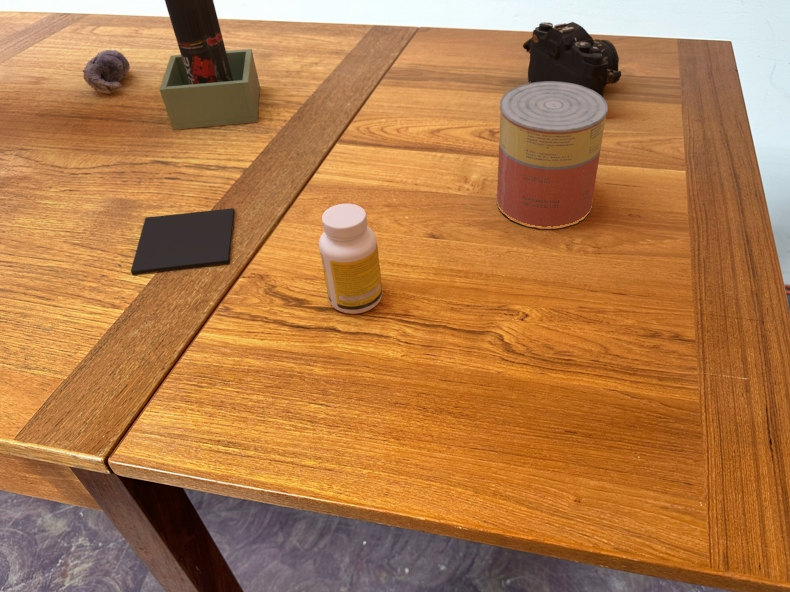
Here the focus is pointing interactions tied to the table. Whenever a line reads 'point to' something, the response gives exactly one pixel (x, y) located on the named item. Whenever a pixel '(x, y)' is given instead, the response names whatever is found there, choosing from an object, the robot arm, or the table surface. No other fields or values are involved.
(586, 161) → the canned food
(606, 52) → the film camera
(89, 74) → the grey crumpled cloth
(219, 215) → the pad
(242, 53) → the bin
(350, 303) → the supplement bottle
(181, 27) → the deodorant
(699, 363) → the table surface
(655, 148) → the table surface
